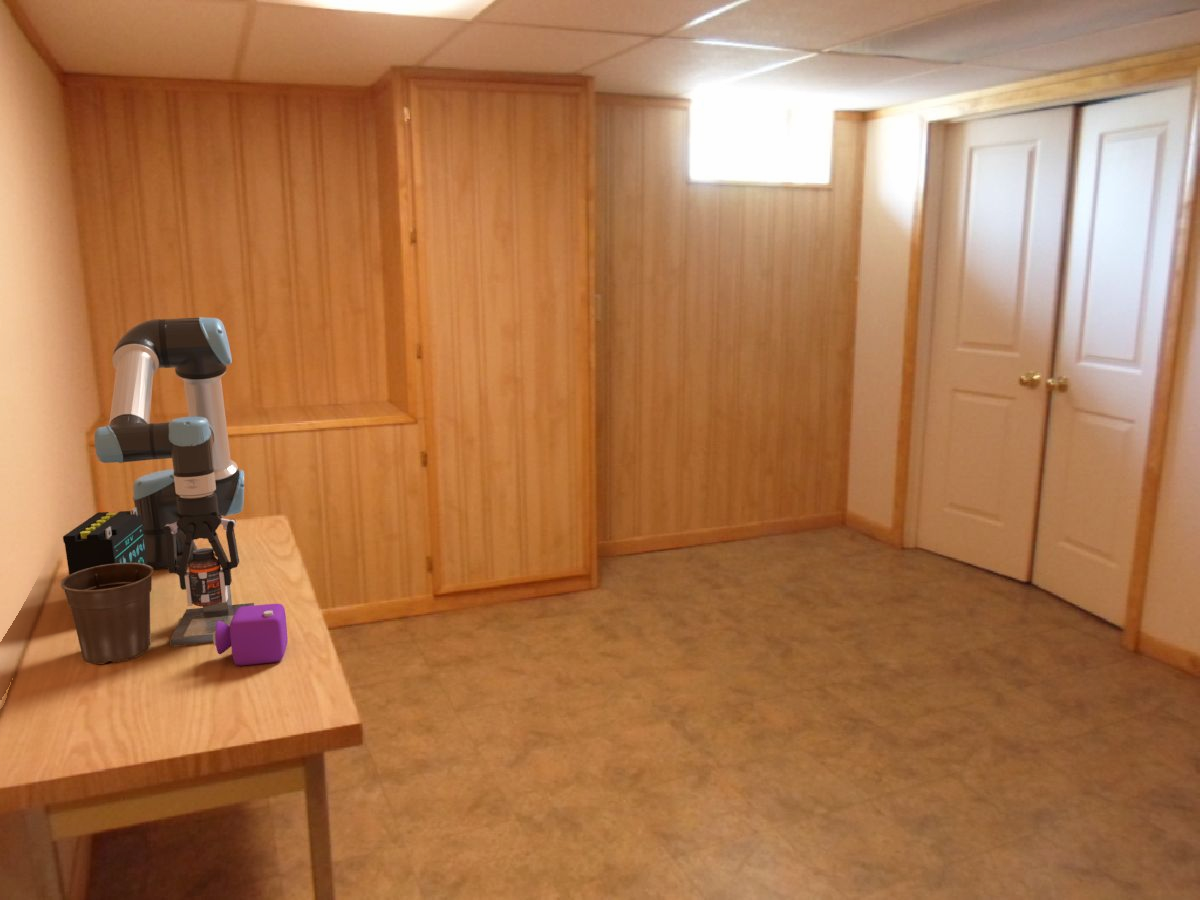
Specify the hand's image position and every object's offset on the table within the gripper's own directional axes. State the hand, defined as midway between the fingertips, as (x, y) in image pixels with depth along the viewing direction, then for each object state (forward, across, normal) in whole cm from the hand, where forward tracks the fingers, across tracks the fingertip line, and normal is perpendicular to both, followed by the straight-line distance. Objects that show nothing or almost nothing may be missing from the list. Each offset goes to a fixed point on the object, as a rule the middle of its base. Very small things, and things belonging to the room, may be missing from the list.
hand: (208, 601), depth 191 cm
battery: (+7, -25, +25) cm, 36 cm away
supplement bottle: (0, 0, 0) cm, 1 cm away
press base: (+7, 0, +4) cm, 8 cm away
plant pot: (+7, -17, -5) cm, 19 cm away
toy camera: (+7, +10, -15) cm, 19 cm away
